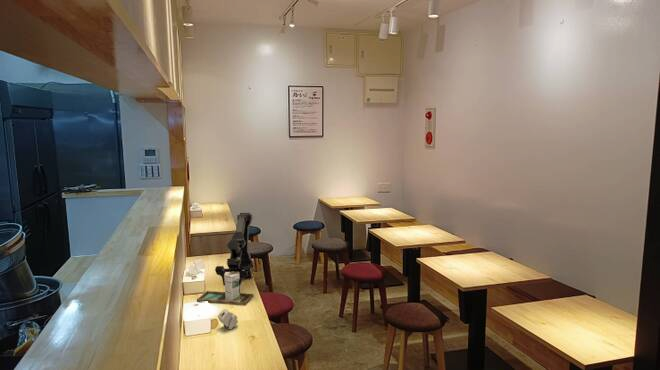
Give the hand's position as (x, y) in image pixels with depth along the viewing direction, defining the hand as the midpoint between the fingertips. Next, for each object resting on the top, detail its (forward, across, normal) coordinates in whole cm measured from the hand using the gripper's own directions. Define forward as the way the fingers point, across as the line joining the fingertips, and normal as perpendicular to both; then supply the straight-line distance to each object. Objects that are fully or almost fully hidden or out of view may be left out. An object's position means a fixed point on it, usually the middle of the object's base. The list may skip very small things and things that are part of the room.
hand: (231, 285), depth 230 cm
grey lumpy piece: (+28, +5, -15) cm, 32 cm away
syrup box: (+5, 0, +7) cm, 9 cm away
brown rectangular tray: (+4, -4, +8) cm, 10 cm away
